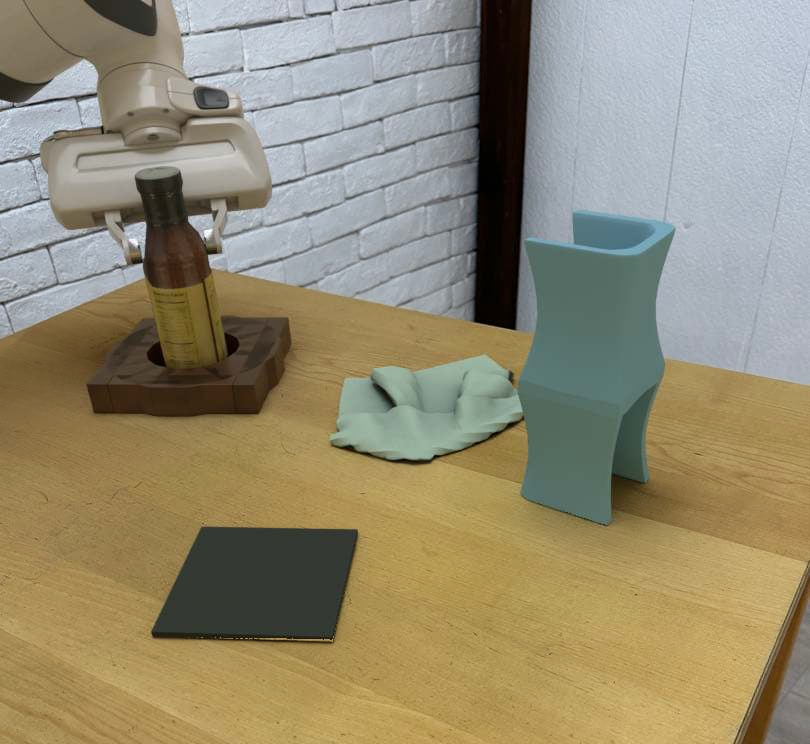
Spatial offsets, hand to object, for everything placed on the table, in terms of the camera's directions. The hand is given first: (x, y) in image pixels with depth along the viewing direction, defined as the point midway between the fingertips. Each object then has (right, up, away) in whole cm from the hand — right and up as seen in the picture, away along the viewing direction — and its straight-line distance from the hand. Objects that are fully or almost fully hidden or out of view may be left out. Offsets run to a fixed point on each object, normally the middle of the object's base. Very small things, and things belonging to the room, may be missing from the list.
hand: (175, 256), depth 84 cm
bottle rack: (0, -10, +8) cm, 12 cm away
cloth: (+25, -14, 0) cm, 28 cm away
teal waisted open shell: (+35, -22, -12) cm, 44 cm away
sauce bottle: (0, -10, +8) cm, 13 cm away
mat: (+11, -29, -20) cm, 37 cm away
